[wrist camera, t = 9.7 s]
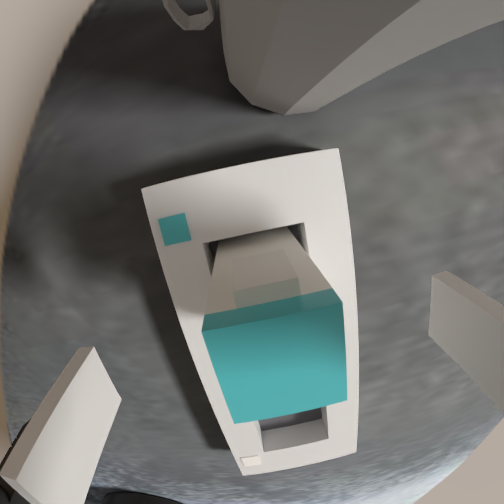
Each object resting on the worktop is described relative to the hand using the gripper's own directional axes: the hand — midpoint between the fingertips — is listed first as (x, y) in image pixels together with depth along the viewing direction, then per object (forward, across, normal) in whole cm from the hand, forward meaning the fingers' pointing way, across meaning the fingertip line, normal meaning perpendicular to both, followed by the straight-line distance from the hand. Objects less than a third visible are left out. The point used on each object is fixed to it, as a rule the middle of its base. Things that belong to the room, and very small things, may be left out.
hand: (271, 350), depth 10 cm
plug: (+8, 0, 0) cm, 8 cm away
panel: (+9, 0, -6) cm, 11 cm away
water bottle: (+9, +3, +12) cm, 16 cm away
